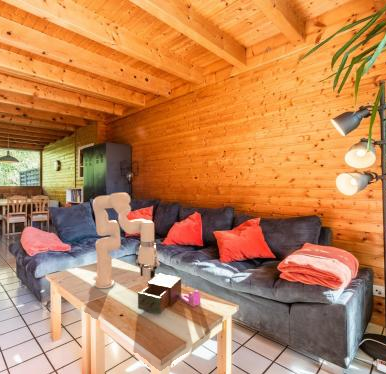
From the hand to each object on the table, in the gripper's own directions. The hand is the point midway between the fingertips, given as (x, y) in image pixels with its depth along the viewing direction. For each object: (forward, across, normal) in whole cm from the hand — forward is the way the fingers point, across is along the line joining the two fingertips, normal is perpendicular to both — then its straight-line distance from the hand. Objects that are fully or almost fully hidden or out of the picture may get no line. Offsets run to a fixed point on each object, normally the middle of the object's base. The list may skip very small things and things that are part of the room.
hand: (147, 275), depth 141 cm
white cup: (+1, 0, 0) cm, 1 cm away
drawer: (+17, -4, 0) cm, 17 cm away
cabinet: (+18, -4, -15) cm, 23 cm away
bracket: (+18, -18, -18) cm, 31 cm away
